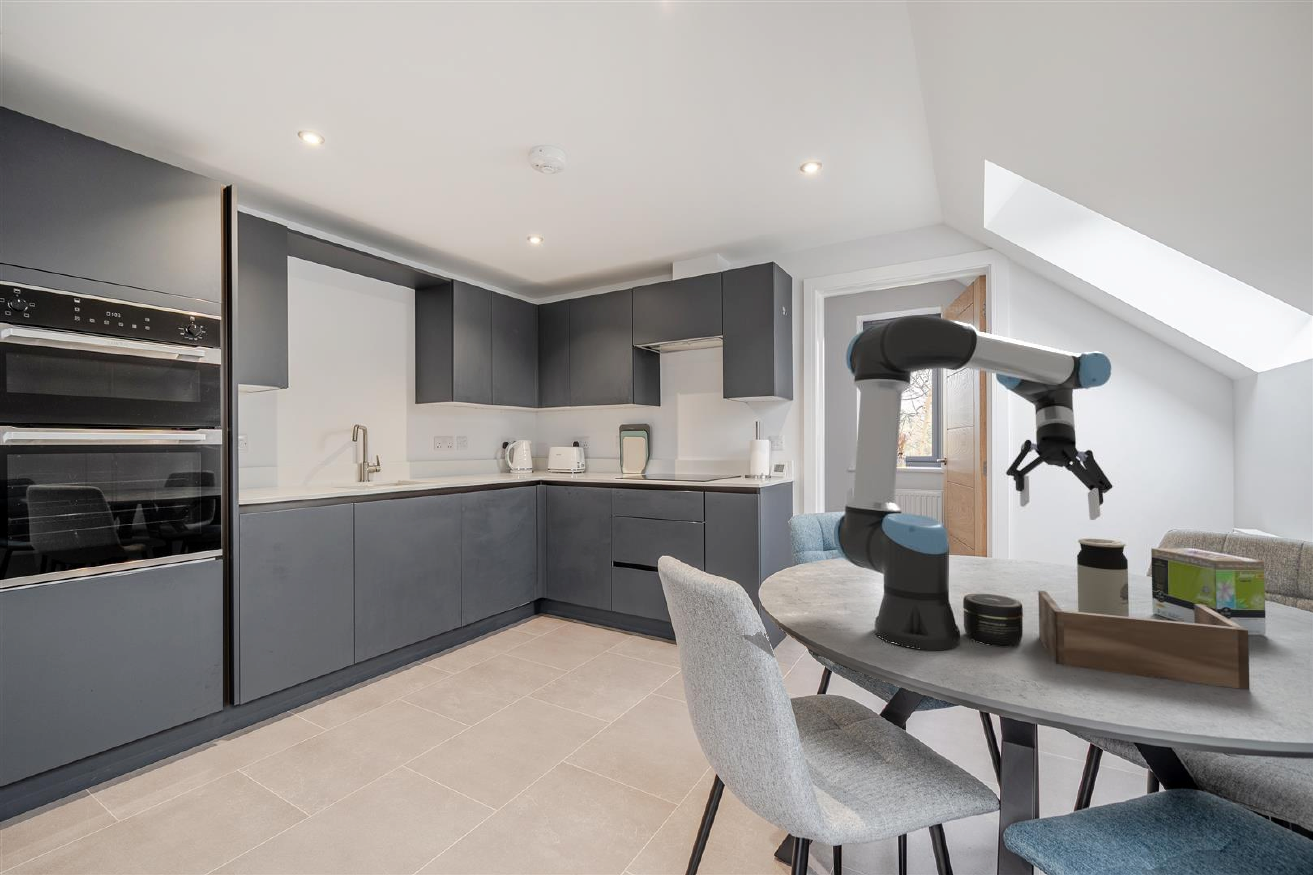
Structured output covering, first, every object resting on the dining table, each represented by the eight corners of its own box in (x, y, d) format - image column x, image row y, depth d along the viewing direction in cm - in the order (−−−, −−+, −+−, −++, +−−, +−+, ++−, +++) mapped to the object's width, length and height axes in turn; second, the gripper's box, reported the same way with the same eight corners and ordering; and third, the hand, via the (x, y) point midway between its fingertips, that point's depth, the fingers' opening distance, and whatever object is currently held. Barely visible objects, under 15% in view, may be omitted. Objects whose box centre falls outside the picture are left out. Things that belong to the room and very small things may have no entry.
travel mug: (1069, 627, 115) (1067, 539, 115) (1095, 623, 118) (1093, 537, 118) (1112, 640, 107) (1110, 546, 108) (1138, 635, 110) (1136, 543, 111)
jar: (964, 627, 116) (963, 590, 116) (1022, 635, 111) (1021, 596, 111) (962, 642, 107) (961, 602, 107) (1025, 651, 102) (1024, 609, 102)
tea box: (1269, 636, 109) (1267, 560, 109) (1216, 636, 109) (1214, 560, 110) (1196, 613, 124) (1194, 546, 125) (1150, 613, 124) (1148, 546, 125)
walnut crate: (1039, 636, 110) (1038, 590, 110) (1204, 655, 99) (1203, 604, 99) (1056, 664, 96) (1055, 611, 96) (1249, 689, 85) (1248, 630, 86)
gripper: (1107, 448, 133) (1115, 529, 123) (991, 429, 139) (990, 505, 129) (1125, 431, 126) (1136, 516, 117) (1003, 412, 133) (1003, 491, 123)
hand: (1059, 510), depth 123 cm, fingers open, 13 cm apart
